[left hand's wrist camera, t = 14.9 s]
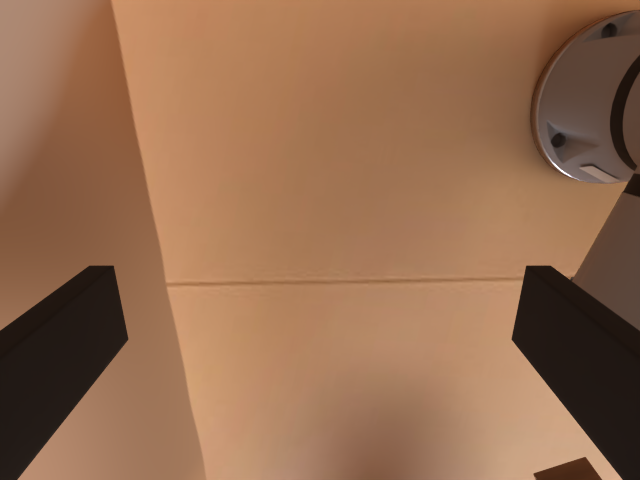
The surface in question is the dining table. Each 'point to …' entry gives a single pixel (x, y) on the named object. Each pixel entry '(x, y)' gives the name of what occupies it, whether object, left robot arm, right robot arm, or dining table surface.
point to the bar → (570, 471)
